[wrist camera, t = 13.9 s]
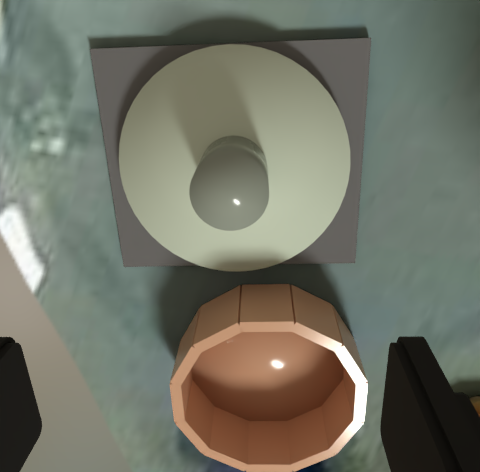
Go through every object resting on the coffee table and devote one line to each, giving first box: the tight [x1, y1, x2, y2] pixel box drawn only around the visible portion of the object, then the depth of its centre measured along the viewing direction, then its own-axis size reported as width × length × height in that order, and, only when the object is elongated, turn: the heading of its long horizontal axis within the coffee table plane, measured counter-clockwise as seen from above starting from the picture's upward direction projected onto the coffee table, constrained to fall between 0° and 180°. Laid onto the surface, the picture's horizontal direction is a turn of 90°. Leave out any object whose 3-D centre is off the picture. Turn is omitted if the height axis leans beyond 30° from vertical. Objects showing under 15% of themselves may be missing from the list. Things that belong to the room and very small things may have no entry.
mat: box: [90, 38, 371, 267], centre depth 31 cm, size 17×15×1 cm
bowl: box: [170, 284, 368, 472], centre depth 35 cm, size 14×14×5 cm
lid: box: [119, 44, 350, 272], centre depth 28 cm, size 15×15×6 cm
